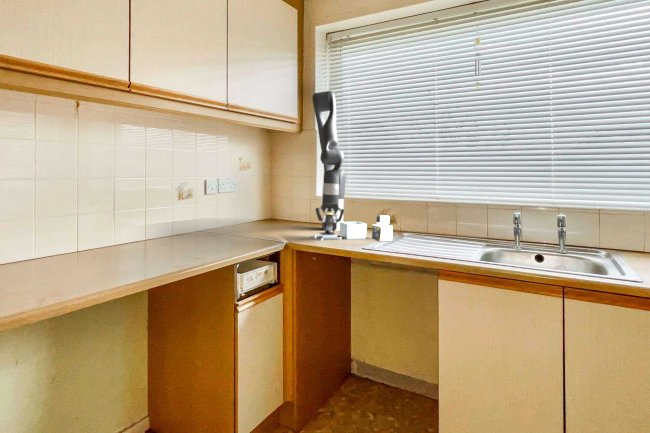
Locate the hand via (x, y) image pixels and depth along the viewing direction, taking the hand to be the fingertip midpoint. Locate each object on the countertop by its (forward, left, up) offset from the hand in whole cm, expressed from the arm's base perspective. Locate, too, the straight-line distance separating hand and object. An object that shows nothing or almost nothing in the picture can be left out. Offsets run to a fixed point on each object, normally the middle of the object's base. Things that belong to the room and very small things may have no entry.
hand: (329, 230), depth 177 cm
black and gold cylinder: (0, 0, -4) cm, 4 cm away
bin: (0, +12, -5) cm, 13 cm away
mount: (-1, -1, -5) cm, 5 cm away
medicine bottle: (+3, +26, -5) cm, 27 cm away
